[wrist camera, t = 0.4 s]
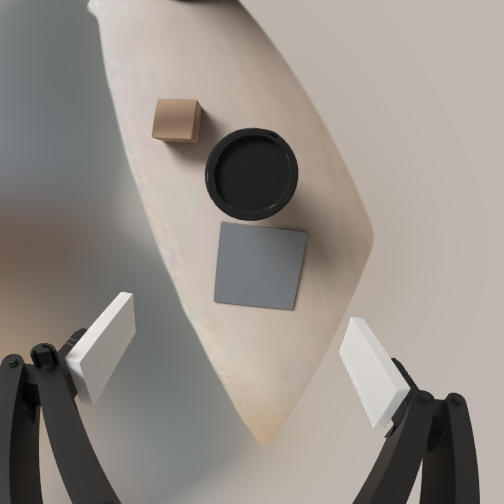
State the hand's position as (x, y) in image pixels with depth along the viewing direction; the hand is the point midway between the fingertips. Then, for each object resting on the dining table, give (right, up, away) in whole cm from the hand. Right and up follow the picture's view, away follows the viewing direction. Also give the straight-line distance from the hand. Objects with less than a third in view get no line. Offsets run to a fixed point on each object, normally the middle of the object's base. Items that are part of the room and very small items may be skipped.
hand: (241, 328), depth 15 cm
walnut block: (-9, +22, +18) cm, 30 cm away
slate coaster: (+2, +2, +24) cm, 24 cm away
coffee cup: (0, +15, +21) cm, 25 cm away
